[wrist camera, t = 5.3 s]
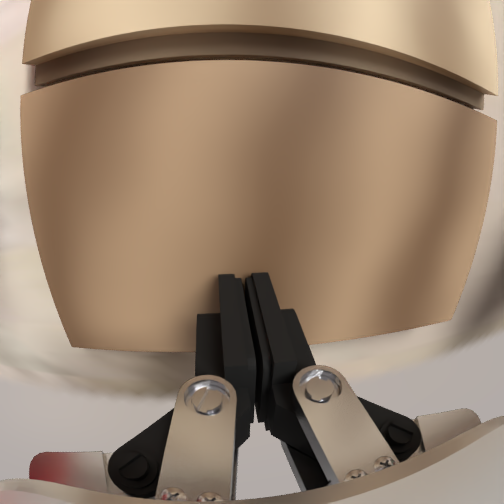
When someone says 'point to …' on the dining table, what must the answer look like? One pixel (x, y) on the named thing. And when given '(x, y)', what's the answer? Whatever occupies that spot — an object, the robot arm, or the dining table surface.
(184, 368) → the dining table surface
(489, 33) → the flat tan panel
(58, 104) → the plank
